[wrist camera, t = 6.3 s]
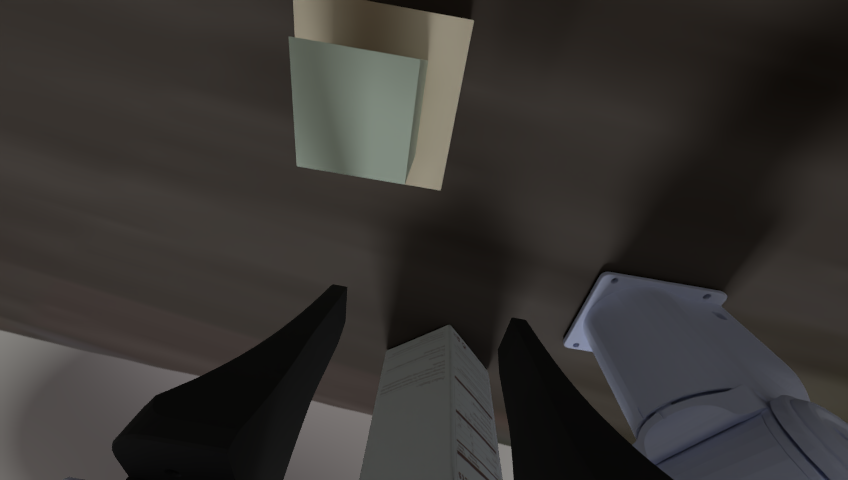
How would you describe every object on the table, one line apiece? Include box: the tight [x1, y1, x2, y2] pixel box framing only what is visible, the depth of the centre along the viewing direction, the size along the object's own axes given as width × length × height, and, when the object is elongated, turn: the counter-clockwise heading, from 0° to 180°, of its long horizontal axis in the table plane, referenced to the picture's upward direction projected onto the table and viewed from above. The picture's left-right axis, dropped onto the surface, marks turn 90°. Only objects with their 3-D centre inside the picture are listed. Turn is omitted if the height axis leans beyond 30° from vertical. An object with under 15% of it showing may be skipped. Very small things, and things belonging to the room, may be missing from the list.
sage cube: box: [289, 36, 428, 184], centre depth 13 cm, size 4×4×4 cm
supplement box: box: [359, 325, 503, 480], centre depth 24 cm, size 7×7×13 cm
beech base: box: [293, 0, 474, 191], centre depth 17 cm, size 8×8×3 cm
